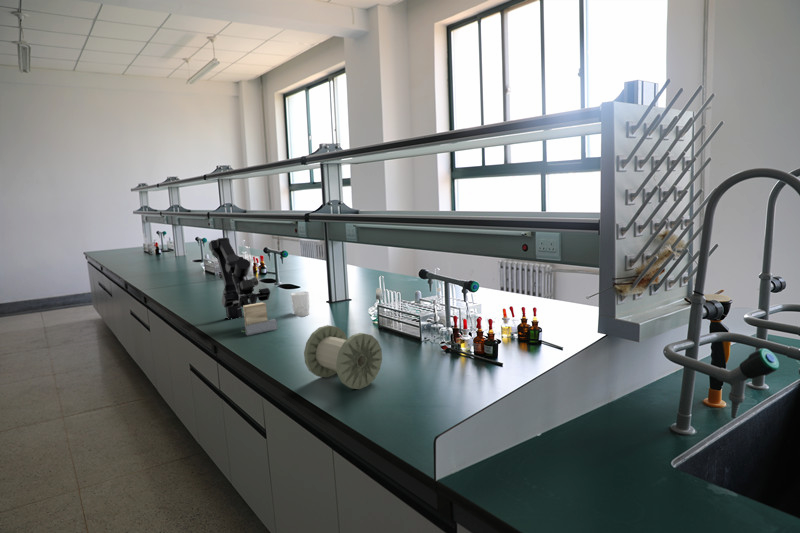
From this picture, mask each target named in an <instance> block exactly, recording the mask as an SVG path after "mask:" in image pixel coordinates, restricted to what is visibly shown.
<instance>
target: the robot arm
mask: <svg viewBox="0 0 800 533" xmlns="http://www.w3.org/2000/svg"><path fill="white" fill-rule="evenodd" d="M230 242H231V241H230V238H228V237H220V238H219V237H218V238H216V239H211V240H210V241H209V242H208V249H209V251H211V254H212V256H213V257H214V258H215V259H216V260H217V262H218V267H219V270H220V274H221V278H222V281H223V284H224V289H223V290H222V297H221V305H222V307H224V308H225V312H226V317H228V318H229V319H228V320H231V318H232V320H235V319H236V318H237V319H240V318H239V317H241V318H243V317H242V316H243V315H244V314H243V310H242V309H243V306H244V305H250V304H256V303H257V300H258V301H259V302H264V301H268V300H269V299H270V296H271V290H270V288H268V287H264V288H259V290H258V291H257V292H255V287H256V286H258V285H259V280H258V278H257V276H256V277H252V278H251V279H248V277H247V276H248V275H249V272H250V268H251V262H250V261H249V260H248V259H247V258H244V257H243V256H238V254H236V253H235V251H234V250H235V249H233V247H232V245H231V243H230Z"/></svg>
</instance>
